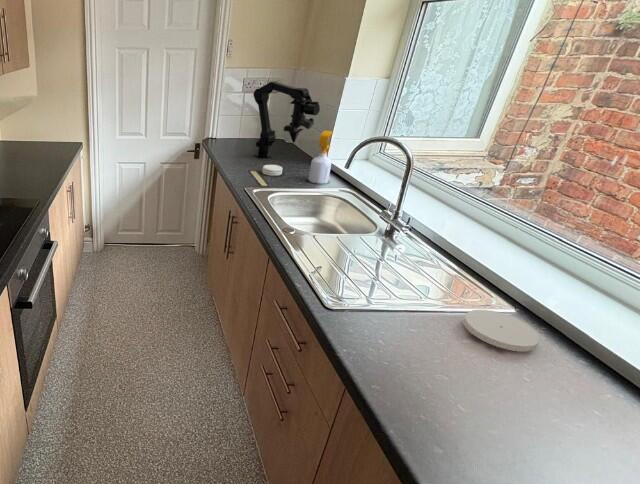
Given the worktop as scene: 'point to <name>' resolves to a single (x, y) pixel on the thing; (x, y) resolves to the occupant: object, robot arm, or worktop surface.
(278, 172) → the white round container
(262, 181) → the strip
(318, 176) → the soap bottle
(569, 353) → the worktop surface
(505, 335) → the plastic lid
